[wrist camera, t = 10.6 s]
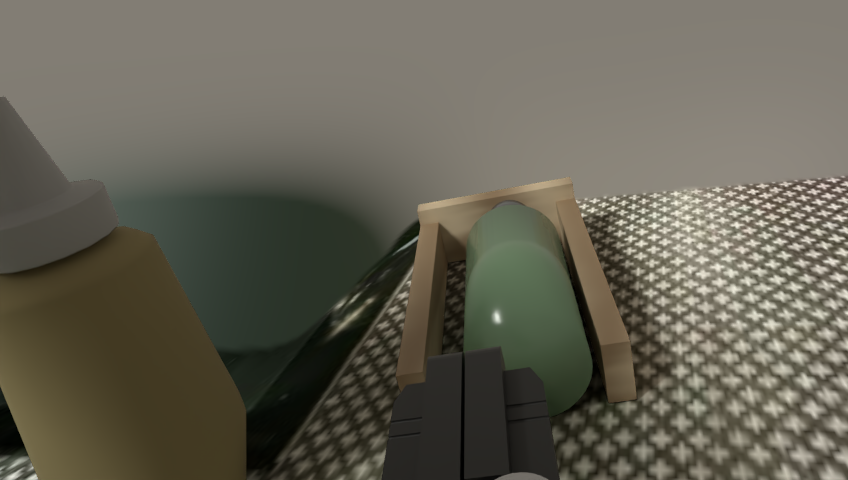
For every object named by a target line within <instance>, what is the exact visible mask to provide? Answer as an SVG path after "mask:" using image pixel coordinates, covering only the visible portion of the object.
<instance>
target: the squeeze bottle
mask: <svg viewBox="0 0 848 480" xmlns="http://www.w3.org/2000/svg"><path fill="white" fill-rule="evenodd" d="M118 224H119V221H118V216H117V214H116V211H115V209H114V207H113V204H112V202H111V200H110V198H109V195H108V193H107V191H106V188H105V186H104V184H103V182H101V181H97V180H91V179H90V180H81V181H74V182H69V181H68V180H67V178H66V177H65V176H64V174H63V173H62V172H61V170H60V169H59V168H58V166H57V165H56V164H55V162H54V161H53V160H52V159H51V157H50V156H49V155H48V153H47V152H46V151H45V149H44V148H43V147H42V145H41V144H40V143H39V141H38V140H37V139H36V137H35V136H34V135H33V133H32V132H31V131H30V129H29V128H28V127H27V125H26V124H25V123H24V121H23V120H22V119H21V117H20V116H19V115H18V113H17V112H16V111H15V109H14V108H13V107H12V105H11V104H10V103H9V101H8V100H7V99H6V98H5V97H0V387H1V389H2V392H3V394H4V397H5V399H6V401H7V404H8V406H9V409H10V411H11V414H12V416H13V418H14V421H15V423H16V426H17V428H18V431H19V433H20V435H21V438H22V440H23V443H24V445H25V448H26V450H27V452H28V455H29V457H30V460H31V462H32V465H33V467H34V469H35V472H36V474H37V477H38V479H39V480H246V408H245V406H244V403H243V401H242V398H241V395H240V393H239V391H238V389H237V387H236V385H235V383H234V382H233V380H232V378H231V376H230V374H229V373H228V371H227V369H226V367H225V365H224V363H223V362H222V360H221V358H220V356H219V354H218V352H217V351H216V349H215V347H214V345H213V343H212V342H211V340H210V338H209V336H208V334H207V332H206V330H205V329H204V327H203V325H202V323H201V321H200V320H199V318H198V316H197V314H196V312H195V310H194V308H193V307H192V305H191V303H190V301H189V299H188V298H187V296H186V294H185V292H184V290H183V288H182V287H181V285H180V283H179V281H178V279H177V277H176V276H175V274H174V272H173V270H172V268H171V267H170V265H169V263H168V261H167V259H166V257H165V255H164V254H163V252H162V250H161V248H160V246H159V245H158V243H157V241H156V239H155V237H154V236H153V235H152V234H149V233H146V232H143V231H140V230H137V229H133V228H129V227H124V226H122V227H117V226H118Z"/></svg>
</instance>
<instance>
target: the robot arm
mask: <svg viewBox="0 0 848 480" xmlns="http://www.w3.org/2000/svg"><path fill="white" fill-rule="evenodd" d="M388 437H389V440H388V442H387V449H386V455H385V462H384V468H383V475H382V480H560V478H559V472H558V465H557V459H556V453H555V447H554V441H553V435H552V430H551V424H550V418H549V413H548V407H547V401H546V395H545V390H544V384H543V381H542V380H541V379H540V378H539V377H538V375H537V374H536V373H535V372H534V371H533V370H532V369H531V368H530V367H527V368H520V369H513V370H506V368H505V363H504V358H503V353H502V349H501V346H498V347H491V348H484V349H477V350H470V351H466V352H465V355H464V352H458V353H451V354H444V355H437V356H430V357H428V359H427V369H426V379H425V382H422V383H415V384H408V385H406V386H405V387H404V389H403V390H402V391H401V393H400V394H399V396H398V397H397V399H396V400H395V401H394V404H393V410H392V417H391V425H390V430H389V436H388Z"/></svg>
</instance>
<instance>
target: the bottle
mask: <svg viewBox="0 0 848 480" xmlns="http://www.w3.org/2000/svg"><path fill="white" fill-rule="evenodd" d="M498 346H501V349H502V353H503V358H504V363H505V368H506V370H513V369H520V368H527V367H530V368H531V369H532V370H533V371H534V372H535V373H536V374H537V375H538V377H539V378H540V379H541V380H542V381H543V384H544V390H545V395H546V401H547V407H548V413H549V417H551V416H555V415H558V414H560V413H562V412H564V411H565V410H567V409H569V408H570V407H571V406H573V405H574V404H575V403H576V402H577V401H578V400H579V399H580V398H581V397H582V395H583V394H584V393H585V391H586V389H587V388H588V385H589V383H590V380H591V376H592V368H593V365H592V358H591V354H590V350H589V346H588V342H587V339H586V335H585V331H584V328H583V324H582V320H581V316H580V313H579V309H578V305H577V302H576V298H575V294H574V291H573V287H572V283H571V279H570V276H569V272H568V268H567V265H566V261H565V257H564V253H563V250H562V246H561V242H560V239H559V235H558V232H557V230H556V228H555V226H554V224H553V223H552V222H551V221H550V219H549V218H548V217H546V216H545V215H544V214H543V213H541V212H540V211H538V210H536V209H534V208H531V207H528V206H525V205H524V204H523V203H521V202H519V201H516V200H505V201H502V202H500V203H498V204H496V205H495V206H494V207H493V208H492V209H491V211H489V212H487V213H486V214H484V215H483V216H482V217H480V218H479V219H478V220H477V222H476V223H475V224H474V225H473V227H472V229H471V231H470V233H469V235H468V239H467V246H466V280H465V314H464V348H463V352H464V355H465V352H466V351H470V350H477V349H484V348H491V347H498Z"/></svg>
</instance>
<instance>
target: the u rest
mask: <svg viewBox="0 0 848 480" xmlns="http://www.w3.org/2000/svg"><path fill="white" fill-rule="evenodd" d="M505 200H516V201H519V202H521V203H523V204H524V205H525V206H528V207H531V208H534V209H536V210H538V211H540V212H541V213H543V214H544V215H545V216H546V217H548V218H549V219H550V221H551V222H552V223H553V224H554V226H555V228H556V230H557V232H558V235H559V239H560V242H561V243H562V245H563V249H564V252H565V256H566V259H567V262H568V266H569V269H570V273H571V276H572V279H573V283H574V286H575V290H576V293H577V296H578V300H579V303H580V307H581V310H582V314H583V317H584V320H585V324H586V327H587V331H588V334H589V337H590V341H591V344H592V348H593V351H594V354H595V358H596V361H597V365H598V368H599V371H600V375H601V378H602V382H603V385H604V389H605V392H606V395H607V399H608V402H609V403H613V402H621V401H628V400H635V399H637V394H636V386H635V377H634V369H633V360H632V351H631V343H630V339H629V336H628V334H627V331H626V329H625V326H624V324H623V321H622V318H621V316H620V313H619V311H618V308H617V306H616V303H615V300H614V298H613V295H612V293H611V290H610V288H609V285H608V283H607V280H606V277H605V275H604V272H603V270H602V267H601V265H600V262H599V259H598V257H597V254H596V252H595V249H594V247H593V244H592V242H591V239H590V236H589V234H588V231H587V229H586V226H585V224H584V221H583V218H582V216H581V213H580V211H579V208H578V206H577V203H576V200H575V198H574V191H573V184H572V181H571V179H570V177H567V178H562V179H556V180H551V181H545V182H540V183H534V184H529V185H523V186H518V187H513V188H507V189H502V190H496V191H491V192H486V193H480V194H475V195H470V196H464V197H459V198H453V199H448V200H442V201H437V202H431V203H426V204H421V205H419V206H418V211H417V213H418V217H419V221H420V225H421V227H420V233H419V239H418V245H417V251H416V257H415V263H414V269H413V275H412V281H411V287H410V292H409V298H408V304H407V310H406V316H405V322H404V328H403V334H402V340H401V346H400V352H399V358H398V364H397V370H396V379H397V382H398V386H399V389H400V393H401V391H402V390H403V389H404V387H405V386H406V385H408V384H415V383H422V382H425V379H426V369H427V359H428V357H430V356H437V355H442V345H443V330H444V314H445V299H446V284H447V269H448V263H450V262H456V261H462V260H466V246H467V239H468V235H469V233H470V231H471V229H472V227H473V225H474V224H475V223H476V222H477V220H478V219H479V218H480V217H482V216H483V215H484V214H486V213H487V212H489V211H491V209H492V208H493V207H494V206H495V205H496V204H498V203H500V202H502V201H505Z"/></svg>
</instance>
